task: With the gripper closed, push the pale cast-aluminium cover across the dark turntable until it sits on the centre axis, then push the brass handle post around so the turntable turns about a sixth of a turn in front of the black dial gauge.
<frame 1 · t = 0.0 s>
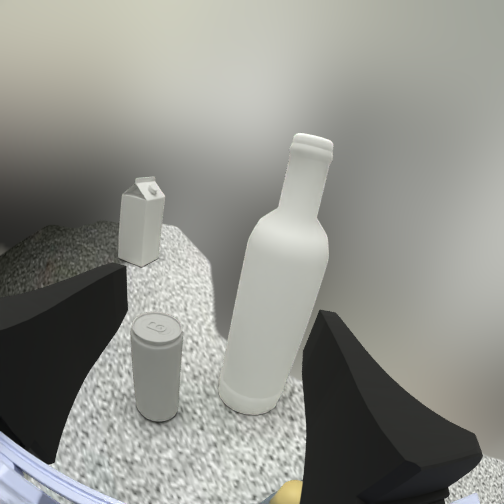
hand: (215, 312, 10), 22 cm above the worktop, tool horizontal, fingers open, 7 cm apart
milk carton: (138, 259, 64), on the worktop
beverage can: (157, 408, 28), on the worktop
bottle: (248, 393, 33), on the worktop
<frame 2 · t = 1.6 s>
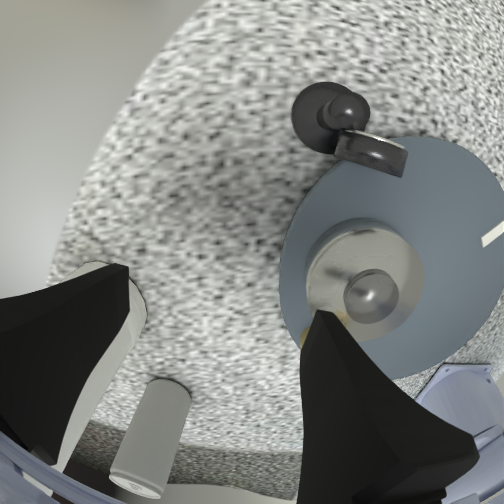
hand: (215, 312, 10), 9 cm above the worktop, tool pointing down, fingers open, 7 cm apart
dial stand: (327, 118, 15), on the worktop
cover: (357, 270, 16), point 3 cm above the worktop, touching turntable
beverage can: (170, 390, 27), on the worktop
bottle: (109, 299, 23), on the worktop
turntable: (424, 292, 15), point 4 cm above the worktop, hinge at 0.0°, touching cover
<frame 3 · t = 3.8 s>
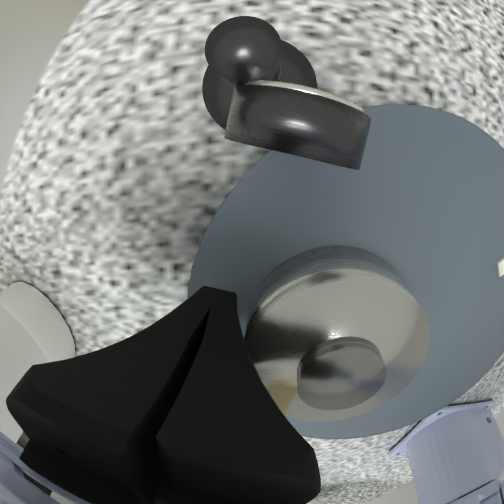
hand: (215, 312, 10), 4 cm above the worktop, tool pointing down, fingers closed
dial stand: (260, 89, 10), on the worktop
cover: (329, 321, 11), point 3 cm above the worktop, touching gripper, turntable
bottle: (41, 322, 17), on the worktop
turntable: (407, 347, 10), point 4 cm above the worktop, hinge at 0.0°, touching cover
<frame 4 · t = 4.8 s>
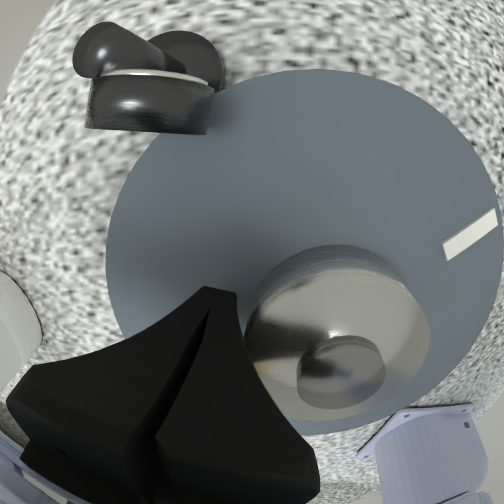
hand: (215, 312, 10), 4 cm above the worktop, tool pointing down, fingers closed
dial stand: (174, 80, 10), on the worktop
cover: (329, 320, 11), point 3 cm above the worktop, touching gripper, turntable
bottle: (14, 308, 17), on the worktop
turntable: (324, 336, 10), point 4 cm above the worktop, hinge at 0.0°, touching cover
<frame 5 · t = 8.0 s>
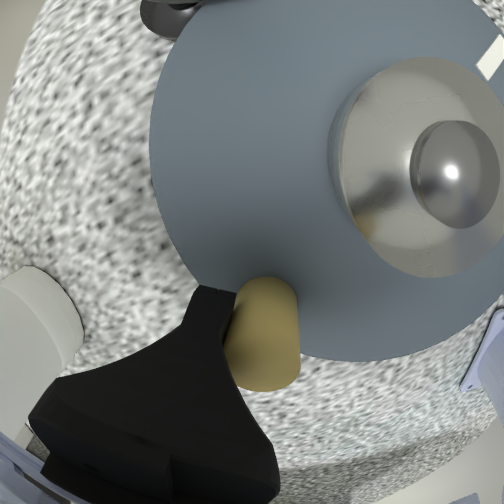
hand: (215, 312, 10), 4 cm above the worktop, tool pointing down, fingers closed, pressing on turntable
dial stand: (189, 3, 9), on the worktop
milk carton: (16, 416, 32), on the worktop
cover: (413, 160, 8), point 3 cm above the worktop, touching turntable
bottle: (48, 309, 17), on the worktop
turntable: (418, 165, 8), point 4 cm above the worktop, hinge at 1.7°, touching cover, gripper
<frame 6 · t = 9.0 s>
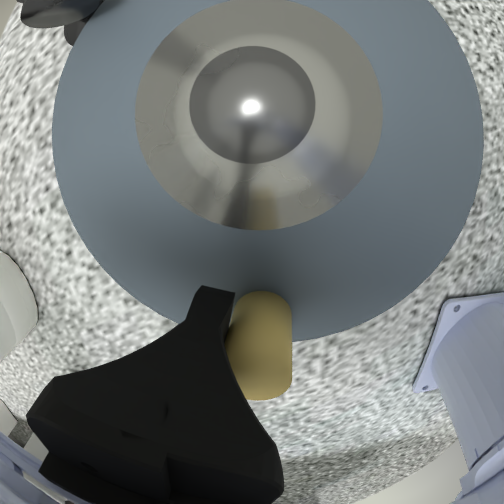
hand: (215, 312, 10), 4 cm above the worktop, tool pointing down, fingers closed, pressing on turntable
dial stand: (102, 15, 9), on the worktop
milk carton: (1, 403, 33), on the worktop
cover: (261, 113, 9), point 3 cm above the worktop, touching turntable
beverage can: (96, 387, 21), on the worktop
bottle: (12, 289, 18), on the worktop
turntable: (253, 119, 8), point 4 cm above the worktop, hinge at 43.3°, touching cover, gripper
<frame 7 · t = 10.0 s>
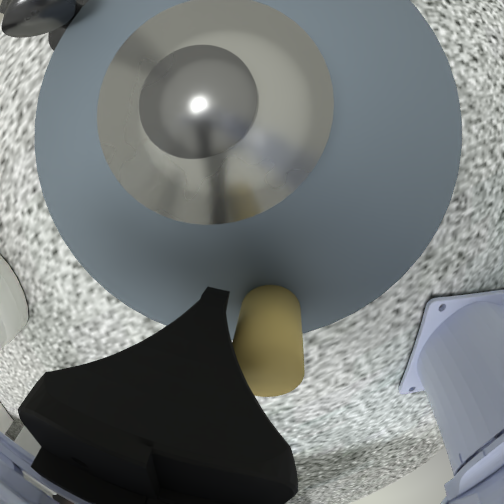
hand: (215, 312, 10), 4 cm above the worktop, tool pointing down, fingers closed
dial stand: (84, 21, 9), on the worktop
cover: (222, 111, 9), point 3 cm above the worktop, touching turntable
beverage can: (85, 384, 21), on the worktop
bottle: (4, 287, 18), on the worktop
turntable: (212, 117, 8), point 4 cm above the worktop, hinge at 55.3°, touching cover, gripper
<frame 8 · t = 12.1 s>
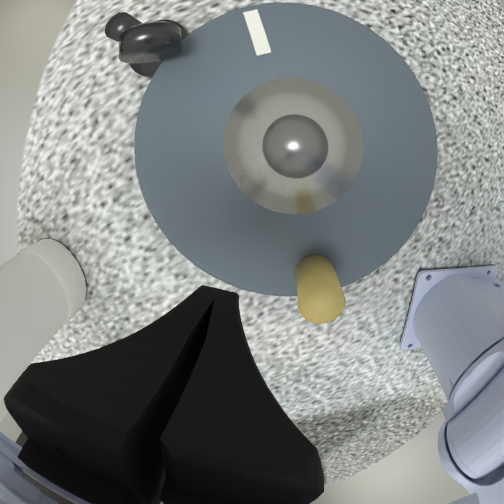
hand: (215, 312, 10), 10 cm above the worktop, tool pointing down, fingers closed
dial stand: (160, 49, 15), on the worktop
milk carton: (19, 393, 38), on the worktop
cover: (292, 144, 14), point 3 cm above the worktop, touching turntable
bottle: (59, 273, 23), on the worktop
turntable: (290, 150, 14), point 4 cm above the worktop, hinge at 55.3°, touching cover
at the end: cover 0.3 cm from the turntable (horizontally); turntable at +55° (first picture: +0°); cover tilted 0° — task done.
